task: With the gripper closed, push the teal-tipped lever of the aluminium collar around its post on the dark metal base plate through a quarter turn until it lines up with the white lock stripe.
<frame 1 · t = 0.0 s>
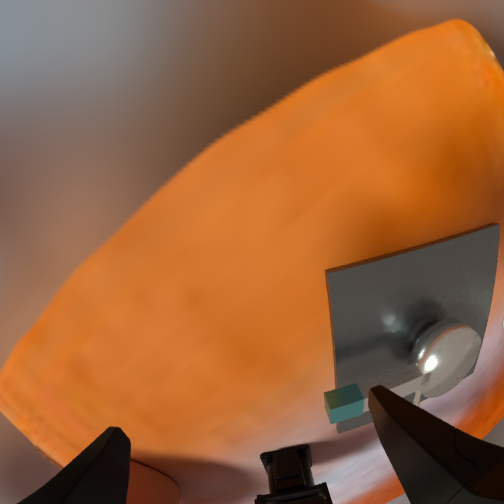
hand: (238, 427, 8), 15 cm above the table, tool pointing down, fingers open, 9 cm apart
potted cactus: (131, 477, 32), on the table
lock base: (424, 337, 25), on the table
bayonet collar: (410, 375, 21), point 4 cm above the table, hinge at 0.0°
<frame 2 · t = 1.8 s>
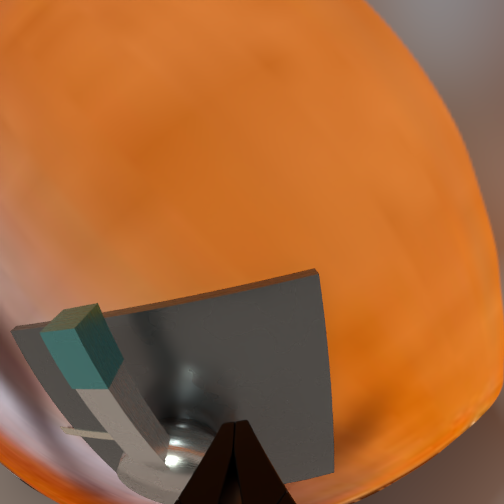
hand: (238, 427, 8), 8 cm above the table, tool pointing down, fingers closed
lock base: (185, 429, 18), on the table
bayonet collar: (149, 438, 12), point 4 cm above the table, hinge at 0.0°
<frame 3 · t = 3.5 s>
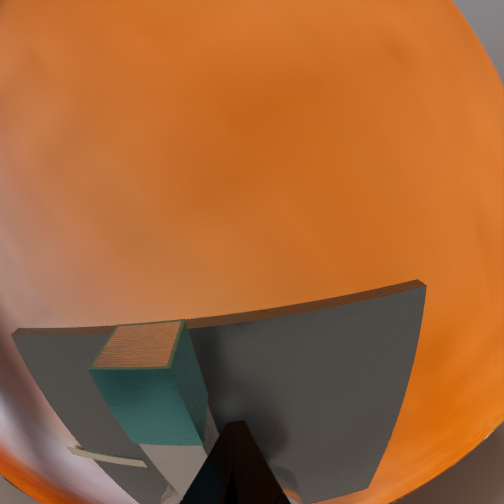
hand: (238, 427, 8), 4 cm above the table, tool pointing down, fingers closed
lock base: (230, 455, 15), on the table
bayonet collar: (212, 480, 9), point 4 cm above the table, hinge at 0.0°, touching gripper
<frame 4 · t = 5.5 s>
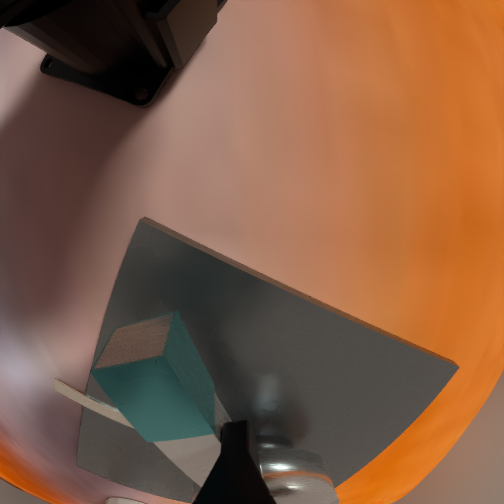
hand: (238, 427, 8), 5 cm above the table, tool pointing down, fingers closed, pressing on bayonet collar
lock base: (254, 447, 15), on the table
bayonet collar: (237, 472, 10), point 4 cm above the table, hinge at 45.4°, touching gripper
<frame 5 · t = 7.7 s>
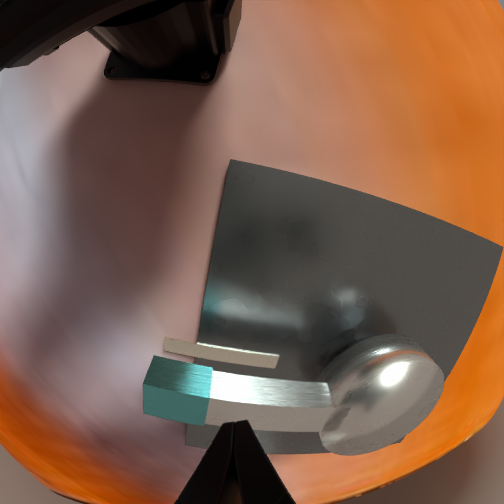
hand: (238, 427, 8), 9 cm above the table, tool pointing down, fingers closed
lock base: (355, 360, 18), on the table
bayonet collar: (311, 401, 13), point 4 cm above the table, hinge at 89.3°
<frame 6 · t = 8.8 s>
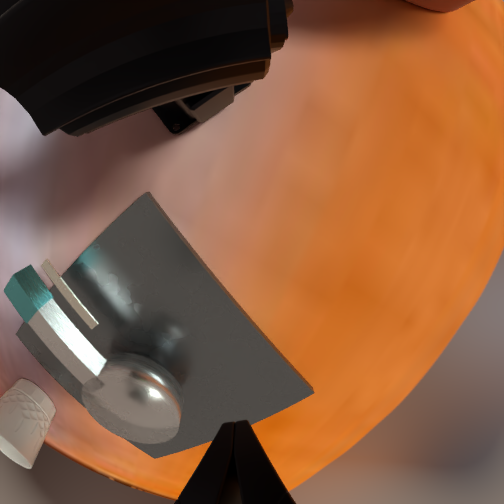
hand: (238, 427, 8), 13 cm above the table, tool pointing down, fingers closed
white cup: (36, 396, 24), on the table
lock base: (145, 369, 22), on the table
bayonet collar: (91, 363, 17), point 4 cm above the table, hinge at 89.3°
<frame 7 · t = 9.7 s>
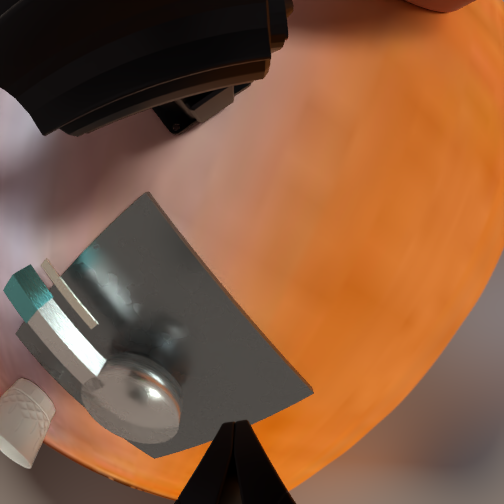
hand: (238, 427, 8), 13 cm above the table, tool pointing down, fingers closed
white cup: (36, 396, 24), on the table
lock base: (145, 369, 22), on the table
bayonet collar: (90, 363, 17), point 4 cm above the table, hinge at 89.3°
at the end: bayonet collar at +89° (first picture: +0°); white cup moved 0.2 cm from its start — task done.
